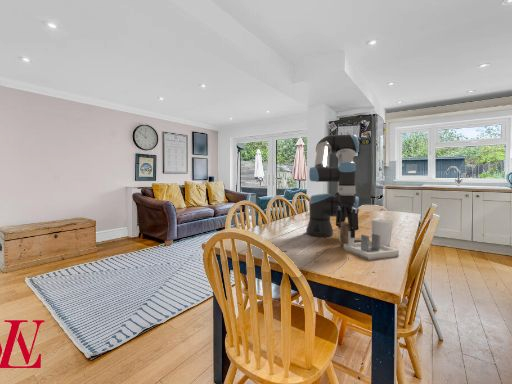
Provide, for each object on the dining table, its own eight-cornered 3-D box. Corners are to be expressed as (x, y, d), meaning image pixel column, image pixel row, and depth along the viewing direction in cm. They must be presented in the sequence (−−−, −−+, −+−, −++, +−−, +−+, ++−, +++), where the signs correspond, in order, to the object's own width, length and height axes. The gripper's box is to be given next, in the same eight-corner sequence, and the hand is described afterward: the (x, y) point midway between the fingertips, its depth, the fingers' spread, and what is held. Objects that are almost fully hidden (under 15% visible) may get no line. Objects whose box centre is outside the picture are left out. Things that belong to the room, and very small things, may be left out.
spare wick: (343, 244, 133) (343, 239, 133) (343, 241, 138) (344, 236, 137) (369, 246, 129) (369, 241, 129) (368, 243, 134) (368, 238, 133)
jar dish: (343, 249, 122) (344, 232, 122) (371, 246, 128) (371, 229, 127) (368, 260, 107) (369, 240, 107) (398, 256, 112) (399, 237, 112)
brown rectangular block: (340, 245, 128) (340, 221, 127) (344, 245, 129) (345, 221, 128) (346, 248, 123) (347, 223, 122) (351, 248, 124) (351, 223, 123)
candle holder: (394, 246, 126) (395, 222, 125) (372, 245, 128) (373, 221, 127) (388, 241, 136) (389, 218, 135) (368, 240, 138) (369, 218, 137)
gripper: (328, 193, 132) (328, 239, 133) (354, 196, 114) (353, 248, 115) (340, 193, 134) (340, 238, 135) (367, 195, 116) (367, 247, 117)
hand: (346, 242), depth 125 cm, fingers open, 6 cm apart
